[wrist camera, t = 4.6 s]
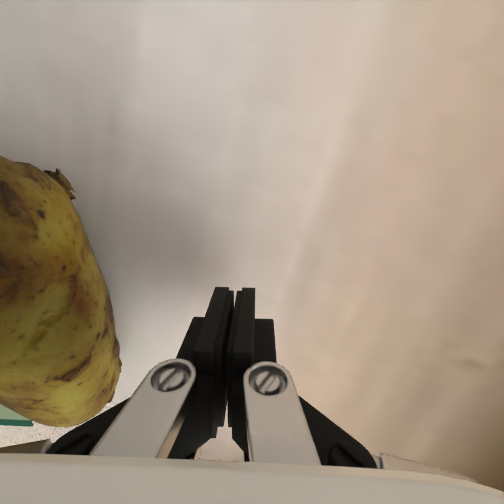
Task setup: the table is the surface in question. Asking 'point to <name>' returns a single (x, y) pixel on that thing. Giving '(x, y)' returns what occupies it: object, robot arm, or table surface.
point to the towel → (12, 418)
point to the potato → (51, 304)
